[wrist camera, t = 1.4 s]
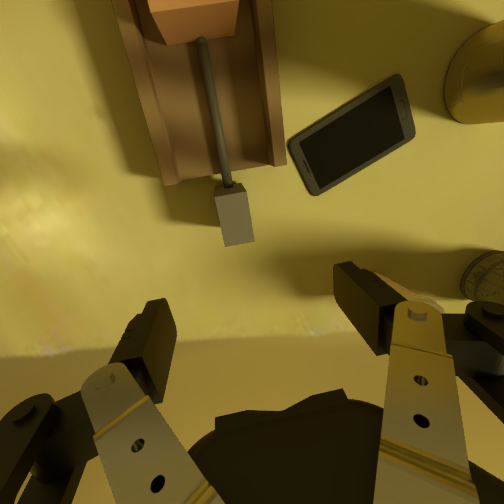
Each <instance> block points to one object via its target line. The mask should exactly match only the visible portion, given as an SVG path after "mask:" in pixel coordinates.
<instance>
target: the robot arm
mask: <svg viewBox="0 0 504 504" xmlns="http://www.w3.org/2000/svg"><path fill="white" fill-rule="evenodd" d="M444 95H445V102H446V106H447V108H448V111H449V112H450V114H451V115H452V117H453V118H455V119H456V120H457V121H458V122H461V123H464V124H482V123H494V122H504V20H502V21H500V22H497V23H495V24H493V25H491V26H488V27H486V28H484V29H482V30H480V31H478V32H477V33H475V34H474V35H472V36H471V37H470V38H469V39H468V40H467V41H466V42H465V43H464V44H463V45H462V47H461V48H460V49H459V51H458V52H457V53H456V55H455V57H454V59H453V61H452V62H451V65H450V67H449V70H448V73H447V77H446V81H445V91H444ZM333 283H334V296H335V300H336V302H337V304H338V306H339V307H340V308H341V309H342V311H343V312H344V313H345V315H346V316H347V317H348V319H349V320H350V321H351V323H352V324H353V325H354V327H355V328H356V329H357V331H358V332H359V333H360V335H361V336H362V337H363V338H364V340H365V341H366V343H367V344H368V345H369V347H370V348H371V349H372V350H373V352H374V353H375V354H376V356H379V355H383V354H388V355H389V366H388V375H387V384H386V393H385V403H384V409H383V408H381V407H379V406H377V405H374V404H371V403H368V402H364V401H360V400H354V399H348V398H347V396H346V394H345V392H344V390H343V389H338V390H333V391H329V392H325V393H320V394H316V395H312V396H310V397H308V398H306V399H304V400H302V401H300V402H298V403H297V404H295V405H293V406H291V407H289V408H287V409H285V410H283V411H257V410H246V411H241V412H237V413H232V414H228V415H224V416H219V417H216V418H215V430H214V431H211V432H210V433H208V434H207V435H205V436H204V437H202V438H201V439H200V440H199V441H197V442H196V443H195V444H194V445H193V446H192V447H191V448H190V450H189V451H188V452H187V451H186V450H185V449H184V447H183V445H182V444H181V443H180V441H179V440H178V438H177V437H176V435H175V434H174V432H173V431H172V429H171V428H170V426H169V425H168V424H167V422H166V421H165V419H164V418H163V416H162V415H161V413H160V412H159V411H158V409H157V408H156V406H155V405H154V404H158V403H162V402H163V398H164V393H165V389H166V384H167V379H168V375H169V370H170V366H171V361H172V356H173V351H174V347H175V343H176V338H177V330H176V325H175V322H174V319H173V316H172V313H171V311H170V308H169V305H168V302H167V300H166V299H165V298H161V299H156V300H151V301H148V302H147V303H146V305H145V308H144V310H143V312H142V313H141V314H137V315H136V316H135V317H134V318H133V319H132V320H131V321H130V322H129V324H128V325H127V327H126V329H125V333H123V335H122V337H121V340H120V341H119V343H118V345H117V347H116V349H115V351H114V353H113V355H112V357H111V359H110V361H109V363H108V365H105V366H103V367H101V368H100V369H98V370H96V371H95V372H94V373H92V375H90V376H89V377H88V378H87V379H86V381H85V382H84V384H83V385H82V388H81V391H79V392H76V393H74V394H72V395H70V396H67V397H65V398H63V399H61V400H59V401H56V402H55V401H54V399H53V398H52V397H51V395H49V394H45V393H44V394H38V395H35V396H32V397H30V398H28V399H26V400H24V401H23V402H21V403H19V404H18V405H17V406H15V407H14V408H13V409H11V410H10V411H9V412H8V413H7V414H6V415H5V416H4V417H3V418H2V420H1V421H0V504H14V502H15V498H16V496H17V493H18V492H19V490H20V488H21V486H22V484H23V482H24V480H25V479H26V477H27V475H28V473H29V471H30V472H31V474H32V476H31V478H30V480H29V482H28V484H27V485H26V488H25V489H24V491H23V493H22V495H21V497H20V499H19V501H18V503H17V504H72V501H73V498H74V496H75V493H76V490H77V487H78V485H79V482H80V479H81V477H82V474H83V471H84V468H85V466H86V463H87V461H88V460H91V459H92V458H94V457H96V456H98V455H99V456H100V459H101V462H102V464H103V468H104V470H105V473H106V476H107V479H108V482H109V485H110V487H111V490H112V493H113V496H114V499H115V501H116V504H504V482H503V481H502V480H500V479H498V478H497V477H495V476H494V475H492V474H490V473H489V472H487V471H485V470H484V469H482V468H480V467H479V466H477V465H476V464H474V463H472V462H471V461H469V460H468V456H467V450H466V443H465V436H464V430H463V423H462V416H461V410H460V403H459V396H458V390H457V384H456V376H458V377H459V378H460V379H461V380H462V381H463V382H464V383H465V384H466V385H467V386H468V387H469V388H470V389H471V390H472V391H473V392H474V393H475V394H476V395H477V396H478V397H479V399H480V400H482V402H483V403H484V404H485V405H486V406H487V407H488V408H489V409H490V410H491V411H492V412H493V413H494V414H495V415H496V416H497V417H498V418H499V419H500V420H501V421H502V422H503V424H504V305H502V304H499V303H495V302H489V301H474V302H471V303H469V304H468V305H467V306H466V310H465V314H444V313H440V312H439V311H438V310H437V309H436V308H435V307H433V306H431V305H429V304H427V303H423V302H419V301H408V300H407V299H406V298H404V297H403V296H402V295H401V294H400V293H398V292H397V291H396V290H395V289H393V288H392V287H391V286H390V285H388V284H387V283H386V282H385V281H384V280H382V279H381V278H380V277H379V276H377V275H376V274H375V273H373V272H371V271H368V270H366V269H359V268H358V267H357V266H356V265H355V264H354V263H353V262H351V261H348V262H343V263H338V264H334V266H333Z"/></svg>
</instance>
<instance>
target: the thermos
mask: <svg viewBox="0 0 504 504" xmlns="http://www.w3.org/2000/svg"><path fill="white" fill-rule="evenodd" d="M460 287H461V292H462V293H463V295H464V296H465V297H466V298H468V299H470V300H472V301H489V302H495V303H499V304H502V305H504V251H492V252H488V253H486V254H484V255H482V256H480V257H479V258H477V259H476V260H475V261H473V262H472V263H471V264H470V266H469V267H468V268H467V269H466V271H465V272H464V274H463V276H462V279H461V284H460Z"/></svg>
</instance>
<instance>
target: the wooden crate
mask: <svg viewBox="0 0 504 504" xmlns="http://www.w3.org/2000/svg"><path fill="white" fill-rule="evenodd" d="M111 2H112V5H113V9H114V12H115V15H116V19H117V22H118V26H119V29H120V33H121V36H122V40H123V43H124V47H125V50H126V54H127V57H128V60H129V64H130V67H131V71H132V74H133V78H134V81H135V85H136V88H137V92H138V95H139V98H140V102H141V105H142V109H143V112H144V116H145V119H146V123H147V126H148V130H149V133H150V137H151V140H152V143H153V147H154V150H155V154H156V157H157V161H158V164H159V168H160V171H161V175H162V178H163V182H164V185H165V186H169V185H174V184H178V183H179V182H180V181H181V180H185V179H191V178H196V177H202V176H208V175H214V174H219V173H221V170H220V164H219V159H218V154H217V149H216V144H215V139H214V134H213V129H212V124H211V119H210V114H209V108H208V103H207V98H206V93H205V88H204V83H203V78H202V73H201V68H200V63H199V57H198V52H197V47H196V41H194V42H188V43H181V44H174V45H167V44H166V42H165V40H164V38H163V36H162V34H161V32H160V30H159V28H158V26H157V24H156V22H155V20H154V18H153V16H152V14H151V12H150V8H149V4H148V0H111ZM206 41H207V44H208V50H209V55H210V61H211V66H212V72H213V77H214V83H215V88H216V94H217V99H218V105H219V110H220V116H221V121H222V127H223V132H224V138H225V143H226V149H227V155H228V160H229V166H230V171H236V170H242V169H248V168H254V167H259V166H265V165H271V166H274V167H277V166H282V165H287V160H286V149H285V138H284V128H283V117H282V106H281V96H280V85H279V74H278V63H277V53H276V42H275V31H274V21H273V10H272V0H239V5H238V12H237V19H236V26H235V33H234V36H228V37H222V38H215V39H208V40H206Z"/></svg>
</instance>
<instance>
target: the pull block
mask: <svg viewBox="0 0 504 504" xmlns="http://www.w3.org/2000/svg"><path fill="white" fill-rule="evenodd" d="M148 4H149V8H150V12H151V14H152V16H153V18H154V20H155V22H156V24H157V26H158V28H159V30H160V32H161V34H162V36H163V38H164V40H165V42H166V44H167V45H174V44H181V43H188V42H194V41H196V47H197V52H198V57H199V63H200V68H201V73H202V78H203V83H204V88H205V93H206V98H207V103H208V108H209V114H210V119H211V124H212V129H213V134H214V139H215V144H216V149H217V154H218V159H219V164H220V170H221V175H222V180H223V185H224V186H220V187H215V195H214V198H215V203H216V207H217V212H218V217H219V221H220V226H221V230H222V235H223V240H224V244H225V247H227V246H232V245H238V244H243V243H248V242H253V241H254V235H253V229H252V223H251V216H250V210H249V204H248V198H247V192H246V190H245V188H244V187H243V185H242V183H237V184H233V182H232V177H231V171H230V166H229V160H228V155H227V149H226V143H225V138H224V132H223V127H222V121H221V116H220V110H219V105H218V99H217V94H216V88H215V83H214V77H213V72H212V66H211V61H210V55H209V50H208V44H207V41H206V40H208V39H215V38H222V37H228V36H234V33H235V26H236V19H237V12H238V5H239V0H148Z"/></svg>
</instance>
